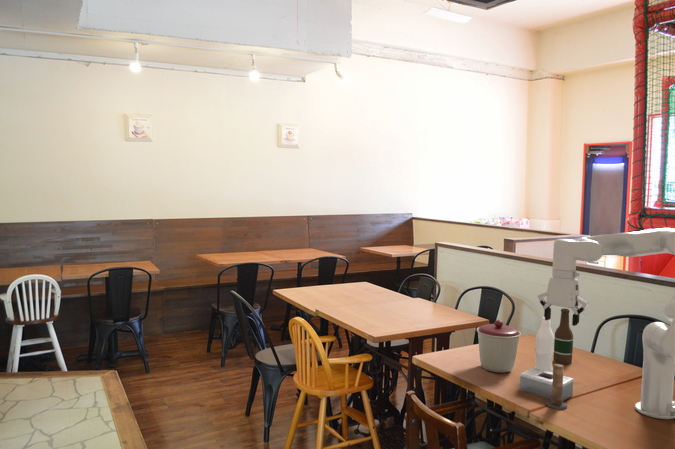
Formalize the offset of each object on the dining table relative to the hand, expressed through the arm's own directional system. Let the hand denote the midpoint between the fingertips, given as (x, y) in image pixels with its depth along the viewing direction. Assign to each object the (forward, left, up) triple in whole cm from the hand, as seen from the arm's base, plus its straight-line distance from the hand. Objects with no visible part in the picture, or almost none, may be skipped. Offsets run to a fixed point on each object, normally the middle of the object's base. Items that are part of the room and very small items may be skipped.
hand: (561, 322), depth 191 cm
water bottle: (+16, -24, -31) cm, 42 cm away
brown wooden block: (0, 0, -30) cm, 30 cm away
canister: (+34, -19, -31) cm, 49 cm away
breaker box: (+8, -9, -30) cm, 33 cm away
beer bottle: (+19, -50, -31) cm, 62 cm away
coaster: (0, 0, -30) cm, 30 cm away
